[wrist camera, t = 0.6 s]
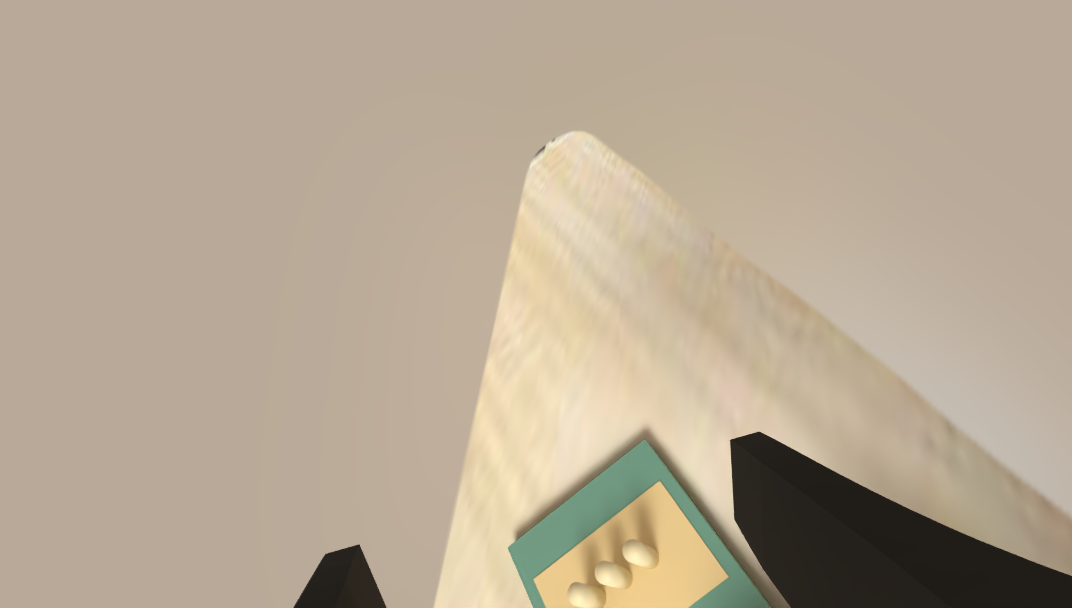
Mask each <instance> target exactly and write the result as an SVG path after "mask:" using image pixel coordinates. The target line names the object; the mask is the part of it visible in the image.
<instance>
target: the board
mask: <svg viewBox="0 0 1072 608" xmlns="http://www.w3.org/2000/svg"><path fill="white" fill-rule="evenodd" d="M508 550H509V552H510V554H511V557H512V559H513V561H514V564H515V566H516V568H517V571H518V573H519V575H520V578H521V580H522V582H523V585H524V587H525V589H526V592H527V594H528V596H529V599H530V601H531V603H532V605H533V608H772V607H771V606H770V605H769V603H768V602H767V601H766V599H765V598H764V597H763V595H762V594H761V592H760V591H759V590H758V588H757V587H756V586H755V584H754V583H753V582H752V580H751V579H750V578H749V576H748V575H747V574H746V572H745V571H744V570H743V568H742V567H741V566H740V564H739V563H738V562H737V560H736V559H735V558H734V556H733V555H732V554H731V552H730V551H729V549H728V548H727V547H726V545H725V544H724V543H723V541H722V540H721V539H720V537H719V536H718V535H717V533H716V532H715V531H714V529H713V528H712V527H711V525H710V524H709V523H708V521H707V520H706V519H705V517H704V516H703V515H702V513H701V512H700V510H699V509H698V508H697V506H696V505H695V504H694V502H693V501H692V500H691V498H690V497H689V496H688V494H687V493H686V492H685V490H684V489H683V488H682V486H681V485H680V484H679V482H678V481H677V480H676V478H675V477H674V476H673V474H672V473H671V472H670V470H669V469H668V467H667V466H666V465H665V463H664V462H663V461H662V459H661V458H660V457H659V455H658V454H657V453H656V451H655V450H654V449H653V447H652V446H651V445H650V443H649V442H647V441H646V440H645V439H644V440H643V441H642V442H640V443H639V444H638V445H637V446H635V447H634V448H633V449H631V450H630V451H629V452H628V453H626V454H625V455H624V456H623V457H621V458H620V459H619V460H618V461H616V462H615V463H614V464H613V465H611V466H610V467H609V468H607V469H606V470H605V471H604V472H602V473H601V474H600V475H599V476H597V477H596V478H595V479H594V480H592V481H591V482H590V483H589V484H587V485H586V486H585V487H583V488H582V489H581V490H580V491H578V492H577V493H576V494H575V495H573V496H572V497H571V498H570V499H568V500H567V501H566V502H565V503H563V504H562V505H561V506H559V507H558V508H557V509H556V510H554V511H553V512H552V513H551V514H549V515H548V516H547V517H546V518H544V519H543V520H542V521H540V522H539V523H538V524H537V525H535V526H534V527H533V528H532V529H530V530H529V531H528V532H527V533H525V534H524V535H523V536H522V537H520V538H519V539H518V540H516V541H515V542H514V543H513V544H511V545H510V546H509V547H508Z"/></svg>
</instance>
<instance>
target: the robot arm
mask: <svg viewBox="0 0 1072 608" xmlns="http://www.w3.org/2000/svg"><path fill="white" fill-rule="evenodd" d="M730 445H731V464H732V482H733V501H734V519H735V521H736V523H737V525H738V526H739V528H740V530H741V532H742V534H743V535H744V537H745V539H746V541H747V542H748V544H749V546H750V548H751V549H752V551H753V553H754V554H755V556H756V558H757V559H758V561H759V563H760V565H761V566H762V568H763V570H764V571H765V572H766V574H767V575H768V576H769V578H770V579H771V581H772V582H773V583H774V585H775V586H776V588H777V589H778V590H779V592H780V593H781V594H782V596H783V597H784V598H785V600H786V601H787V603H788V604H789V605H790V607H791V608H1072V576H1070V575H1067V574H1064V573H1062V572H1059V571H1056V570H1053V569H1051V568H1048V567H1045V566H1043V565H1040V564H1037V563H1035V562H1032V561H1030V560H1027V559H1025V558H1022V557H1020V556H1017V555H1015V554H1012V553H1009V552H1007V551H1004V550H1002V549H999V548H997V547H994V546H992V545H989V544H987V543H984V542H982V541H979V540H977V539H975V538H972V537H970V536H968V535H965V534H963V533H961V532H958V531H956V530H954V529H951V528H949V527H947V526H945V525H943V524H940V523H938V522H936V521H934V520H932V519H930V518H927V517H925V516H923V515H921V514H919V513H916V512H914V511H912V510H910V509H908V508H906V507H904V506H902V505H899V504H897V503H895V502H893V501H891V500H889V499H887V498H885V497H883V496H881V495H879V494H877V493H875V492H873V491H871V490H869V489H867V488H865V487H863V486H861V485H859V484H857V483H855V482H853V481H852V480H850V479H848V478H846V477H844V476H842V475H840V474H838V473H836V472H834V471H832V470H831V469H829V468H827V467H825V466H823V465H821V464H819V463H817V462H816V461H814V460H812V459H810V458H808V457H806V456H804V455H803V454H801V453H799V452H797V451H795V450H793V449H792V448H790V447H788V446H786V445H784V444H782V443H780V442H779V441H777V440H775V439H773V438H771V437H769V436H767V435H765V434H763V433H761V432H756V433H753V434H749V435H746V436H742V437H738V438H735V439H731V440H730ZM294 608H386V605H385V603H384V601H383V599H382V596H381V594H380V592H379V589H378V587H377V584H376V582H375V580H374V577H373V575H372V573H371V570H370V568H369V566H368V563H367V561H366V559H365V557H364V554H363V552H362V550H361V547H360V545H356V546H352V547H348V548H345V549H341V550H338V551H335V552H331V553H328V554H325V556H324V557H323V559H322V560H321V562H320V564H319V565H318V567H317V569H316V570H315V572H314V574H313V575H312V577H311V579H310V580H309V582H308V584H307V585H306V587H305V589H304V591H303V592H302V594H301V596H300V598H299V599H298V601H297V602H296V604H295V606H294Z"/></svg>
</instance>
